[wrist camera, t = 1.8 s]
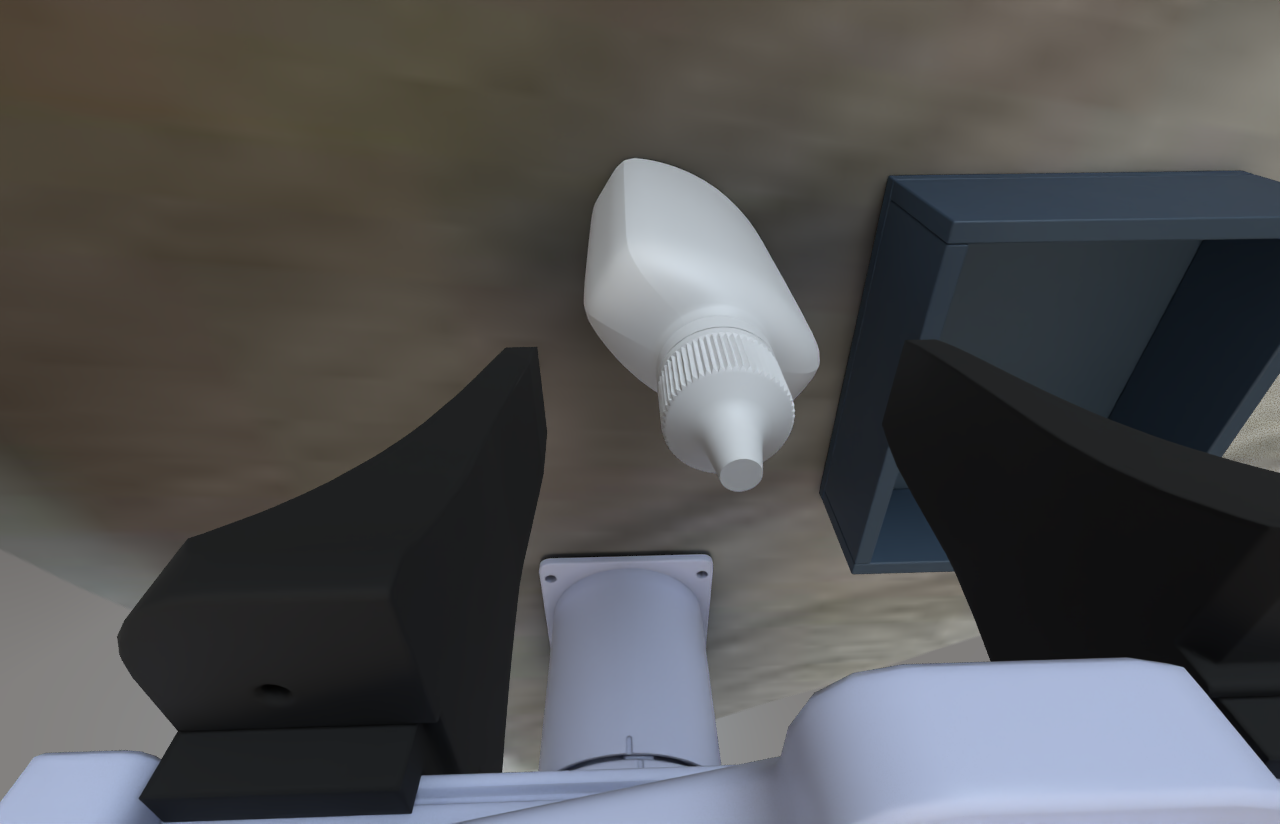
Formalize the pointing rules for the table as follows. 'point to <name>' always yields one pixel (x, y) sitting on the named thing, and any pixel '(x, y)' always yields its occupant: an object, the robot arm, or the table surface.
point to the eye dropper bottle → (697, 317)
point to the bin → (1059, 317)
